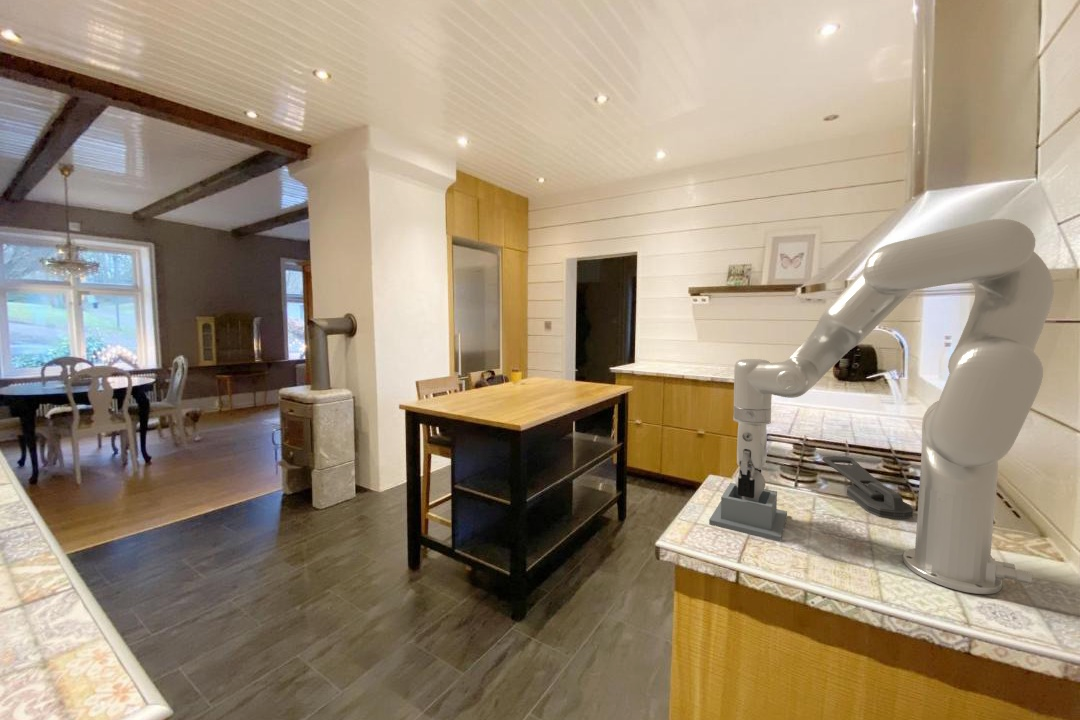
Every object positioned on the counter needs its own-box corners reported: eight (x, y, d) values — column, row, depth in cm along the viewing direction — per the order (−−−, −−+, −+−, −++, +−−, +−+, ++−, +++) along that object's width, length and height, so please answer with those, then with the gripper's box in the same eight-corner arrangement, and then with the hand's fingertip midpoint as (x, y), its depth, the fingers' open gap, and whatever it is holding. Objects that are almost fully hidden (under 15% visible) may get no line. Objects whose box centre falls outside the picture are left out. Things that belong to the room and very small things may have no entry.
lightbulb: (752, 524, 93) (751, 475, 92) (730, 513, 98) (728, 467, 98) (772, 517, 95) (771, 469, 94) (749, 507, 101) (748, 462, 100)
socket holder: (786, 515, 99) (787, 490, 98) (780, 541, 87) (781, 513, 87) (722, 501, 107) (723, 478, 106) (709, 524, 95) (709, 498, 95)
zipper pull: (852, 456, 120) (922, 492, 95) (851, 479, 120) (920, 520, 96) (818, 455, 121) (879, 491, 96) (817, 478, 121) (877, 519, 96)
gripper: (765, 425, 86) (762, 506, 87) (775, 409, 100) (773, 480, 101) (725, 420, 90) (723, 498, 91) (740, 406, 104) (738, 474, 106)
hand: (749, 488), depth 96 cm, fingers open, 9 cm apart
